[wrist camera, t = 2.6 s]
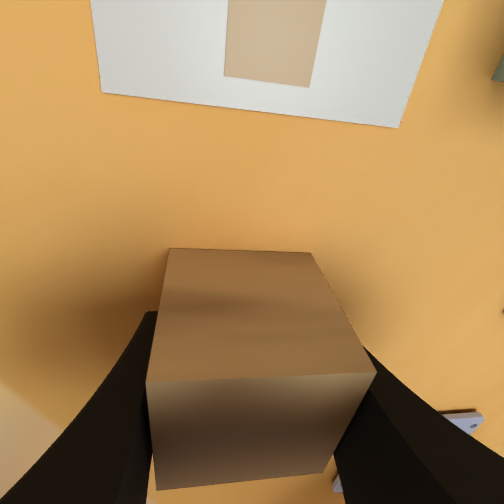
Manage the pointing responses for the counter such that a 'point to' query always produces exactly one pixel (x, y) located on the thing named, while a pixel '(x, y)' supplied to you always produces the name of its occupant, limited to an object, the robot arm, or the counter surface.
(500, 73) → the teal block
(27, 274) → the counter surface
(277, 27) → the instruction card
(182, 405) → the brown wooden cube
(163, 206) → the counter surface
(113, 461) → the robot arm
